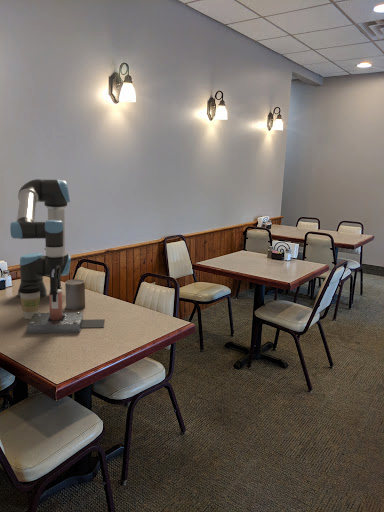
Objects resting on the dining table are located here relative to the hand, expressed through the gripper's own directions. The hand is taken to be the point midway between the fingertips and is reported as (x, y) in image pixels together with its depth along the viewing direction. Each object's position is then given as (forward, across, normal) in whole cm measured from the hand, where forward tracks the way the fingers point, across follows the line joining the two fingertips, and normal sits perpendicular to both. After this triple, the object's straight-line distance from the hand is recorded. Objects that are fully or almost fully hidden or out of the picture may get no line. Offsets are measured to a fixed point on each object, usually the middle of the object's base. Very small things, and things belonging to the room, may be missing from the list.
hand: (56, 305), depth 184 cm
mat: (+10, -2, +16) cm, 19 cm away
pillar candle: (+10, -27, +5) cm, 29 cm away
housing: (+10, 0, 0) cm, 10 cm away
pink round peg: (+6, 0, 0) cm, 6 cm away
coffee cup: (+10, -13, -14) cm, 22 cm away
